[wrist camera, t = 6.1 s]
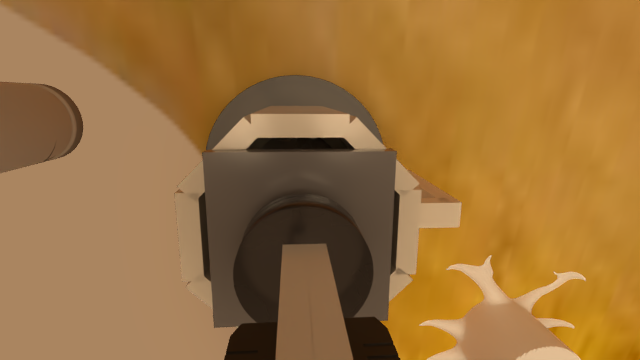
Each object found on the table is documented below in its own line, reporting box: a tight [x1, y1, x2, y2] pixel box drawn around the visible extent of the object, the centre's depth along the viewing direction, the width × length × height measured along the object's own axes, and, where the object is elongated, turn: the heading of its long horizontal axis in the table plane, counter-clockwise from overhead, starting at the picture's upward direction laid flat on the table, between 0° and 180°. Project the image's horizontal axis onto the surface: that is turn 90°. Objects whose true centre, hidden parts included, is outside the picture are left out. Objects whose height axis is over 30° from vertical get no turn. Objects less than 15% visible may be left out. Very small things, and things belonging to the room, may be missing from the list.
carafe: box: [174, 106, 462, 328], centre depth 24 cm, size 11×14×17 cm
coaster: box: [206, 75, 383, 150], centre depth 33 cm, size 16×16×1 cm
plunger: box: [233, 138, 374, 323], centre depth 21 cm, size 7×7×17 cm
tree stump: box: [419, 255, 586, 360], centre depth 35 cm, size 20×19×8 cm
